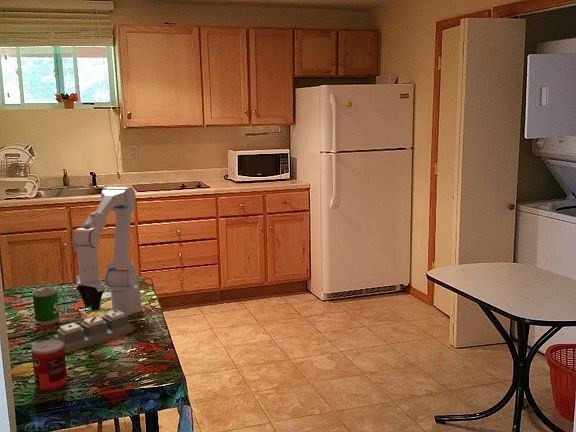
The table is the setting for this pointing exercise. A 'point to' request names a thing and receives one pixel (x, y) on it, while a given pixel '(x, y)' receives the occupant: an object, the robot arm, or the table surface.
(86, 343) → the button panel
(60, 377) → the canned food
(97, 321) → the three pip button
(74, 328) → the one pip button
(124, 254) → the robot arm
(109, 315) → the two pip button
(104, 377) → the table surface
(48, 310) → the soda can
